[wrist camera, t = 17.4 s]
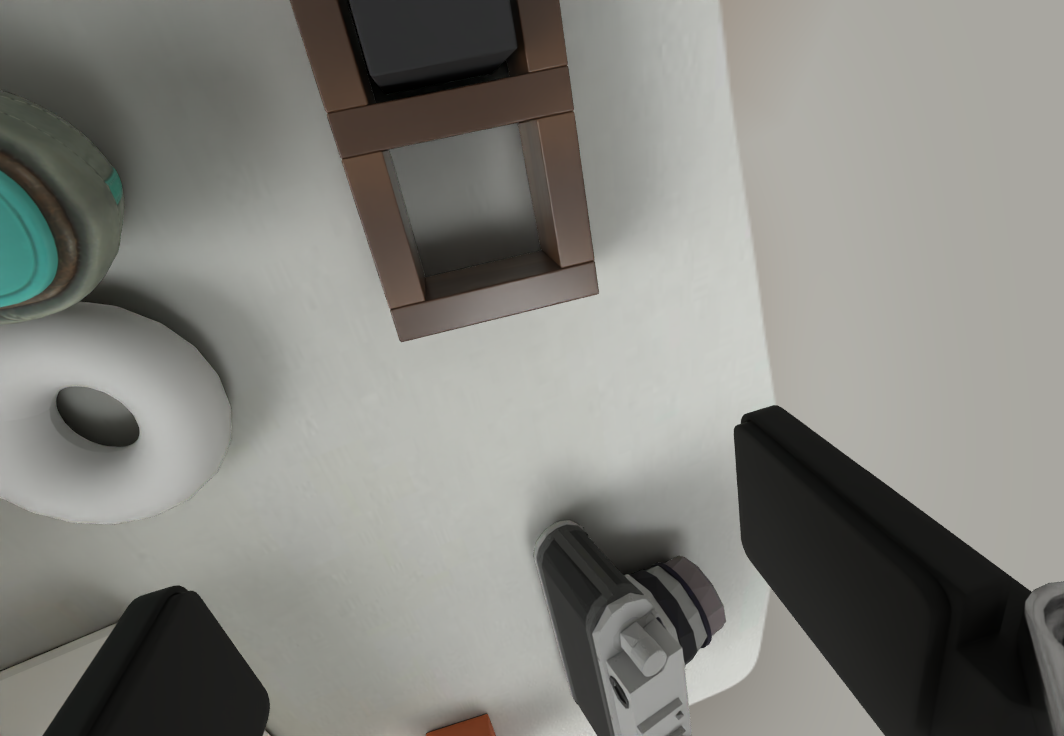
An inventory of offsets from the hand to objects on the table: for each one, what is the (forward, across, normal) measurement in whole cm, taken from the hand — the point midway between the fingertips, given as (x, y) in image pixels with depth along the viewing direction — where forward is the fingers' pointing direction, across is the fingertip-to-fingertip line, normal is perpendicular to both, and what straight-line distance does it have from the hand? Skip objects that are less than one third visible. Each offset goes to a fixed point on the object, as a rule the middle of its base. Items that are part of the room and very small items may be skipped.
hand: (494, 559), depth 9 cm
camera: (+17, -5, +22) cm, 28 cm away
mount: (+17, -2, -8) cm, 18 cm away
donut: (+17, +16, 0) cm, 23 cm away
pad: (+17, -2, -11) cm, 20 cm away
